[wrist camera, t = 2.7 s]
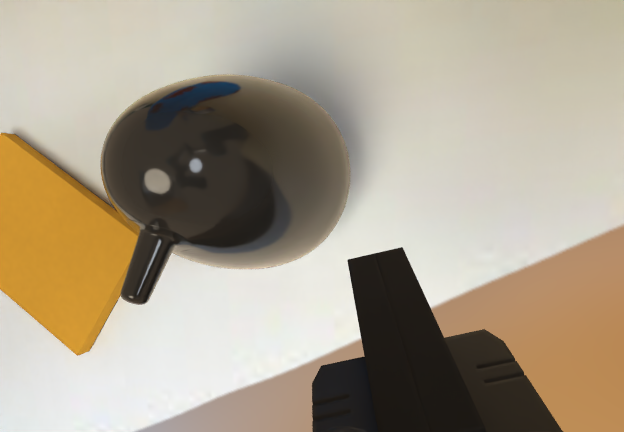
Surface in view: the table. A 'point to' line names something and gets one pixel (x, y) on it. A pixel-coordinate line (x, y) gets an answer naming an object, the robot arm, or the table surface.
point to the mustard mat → (59, 246)
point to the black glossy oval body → (224, 176)
